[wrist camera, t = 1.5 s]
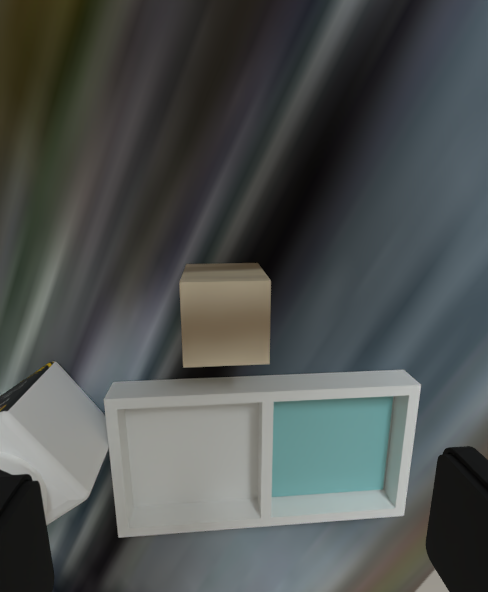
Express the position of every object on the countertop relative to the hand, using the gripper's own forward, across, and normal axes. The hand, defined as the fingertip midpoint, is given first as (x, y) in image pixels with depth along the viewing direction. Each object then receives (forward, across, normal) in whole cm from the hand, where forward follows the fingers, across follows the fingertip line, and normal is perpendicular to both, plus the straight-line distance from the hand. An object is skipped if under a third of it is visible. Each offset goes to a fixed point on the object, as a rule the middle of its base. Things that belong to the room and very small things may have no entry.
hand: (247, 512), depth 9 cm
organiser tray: (+19, -3, +12) cm, 22 cm away
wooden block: (+19, 0, 0) cm, 19 cm away
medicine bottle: (+19, +13, +9) cm, 25 cm away
